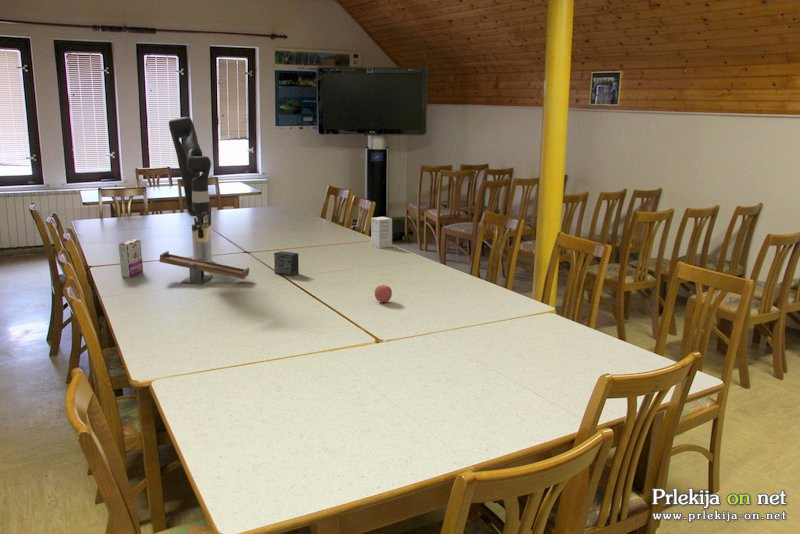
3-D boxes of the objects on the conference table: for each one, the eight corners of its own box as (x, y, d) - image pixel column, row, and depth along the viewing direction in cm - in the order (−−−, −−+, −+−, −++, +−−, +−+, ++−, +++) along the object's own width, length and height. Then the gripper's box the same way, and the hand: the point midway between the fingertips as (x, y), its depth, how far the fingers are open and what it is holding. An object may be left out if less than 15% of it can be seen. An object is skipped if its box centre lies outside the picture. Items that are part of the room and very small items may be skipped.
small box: (299, 273, 335) (299, 252, 333) (292, 276, 330) (291, 255, 327) (281, 270, 340) (281, 250, 337) (274, 273, 334) (273, 252, 331)
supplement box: (392, 246, 400) (392, 218, 396) (379, 248, 395) (379, 219, 391) (383, 243, 408) (384, 216, 404) (370, 245, 403) (370, 217, 399)
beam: (166, 258, 322) (167, 251, 321) (248, 274, 321) (249, 267, 320) (159, 261, 314) (160, 254, 313) (243, 279, 313) (244, 271, 312)
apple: (375, 299, 295) (375, 281, 293) (392, 299, 295) (392, 282, 293) (373, 304, 288) (374, 286, 286) (391, 304, 287) (391, 286, 285)
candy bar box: (134, 271, 332) (131, 238, 328) (143, 272, 331) (141, 239, 327) (120, 277, 322) (117, 243, 318) (130, 278, 321) (127, 243, 317)
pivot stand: (192, 276, 326) (191, 257, 324) (212, 276, 325) (212, 258, 323) (181, 283, 313) (180, 264, 310) (202, 284, 312) (201, 265, 310)
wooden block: (198, 238, 317) (200, 223, 316) (209, 240, 317) (210, 226, 316) (194, 240, 313) (196, 226, 311) (205, 242, 313) (207, 228, 311)
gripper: (198, 197, 317) (200, 233, 322) (187, 202, 303) (189, 240, 308) (213, 198, 317) (215, 233, 321) (203, 203, 303) (205, 240, 307)
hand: (202, 236), depth 314 cm, fingers closed on wooden block, 5 cm apart
